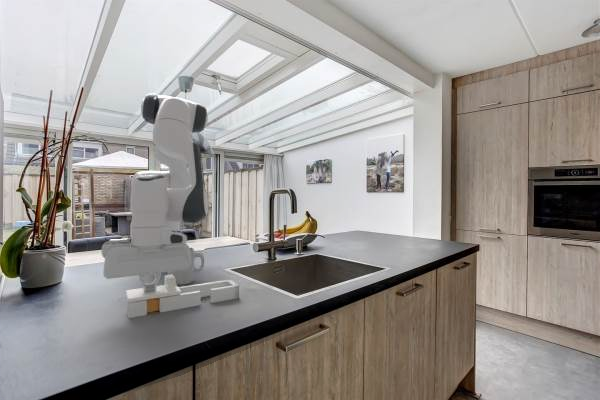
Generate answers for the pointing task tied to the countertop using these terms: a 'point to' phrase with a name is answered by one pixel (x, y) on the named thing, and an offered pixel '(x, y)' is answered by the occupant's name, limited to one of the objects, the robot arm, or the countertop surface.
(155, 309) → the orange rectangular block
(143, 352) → the countertop surface
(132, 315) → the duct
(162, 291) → the cover
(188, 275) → the mug
